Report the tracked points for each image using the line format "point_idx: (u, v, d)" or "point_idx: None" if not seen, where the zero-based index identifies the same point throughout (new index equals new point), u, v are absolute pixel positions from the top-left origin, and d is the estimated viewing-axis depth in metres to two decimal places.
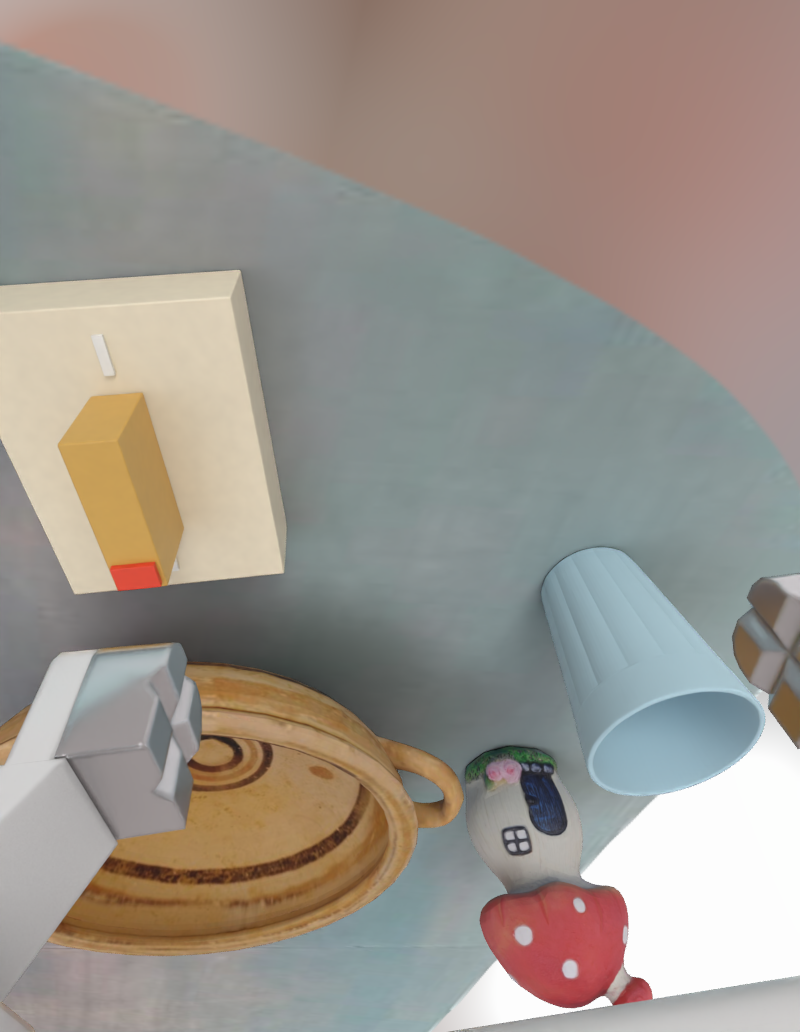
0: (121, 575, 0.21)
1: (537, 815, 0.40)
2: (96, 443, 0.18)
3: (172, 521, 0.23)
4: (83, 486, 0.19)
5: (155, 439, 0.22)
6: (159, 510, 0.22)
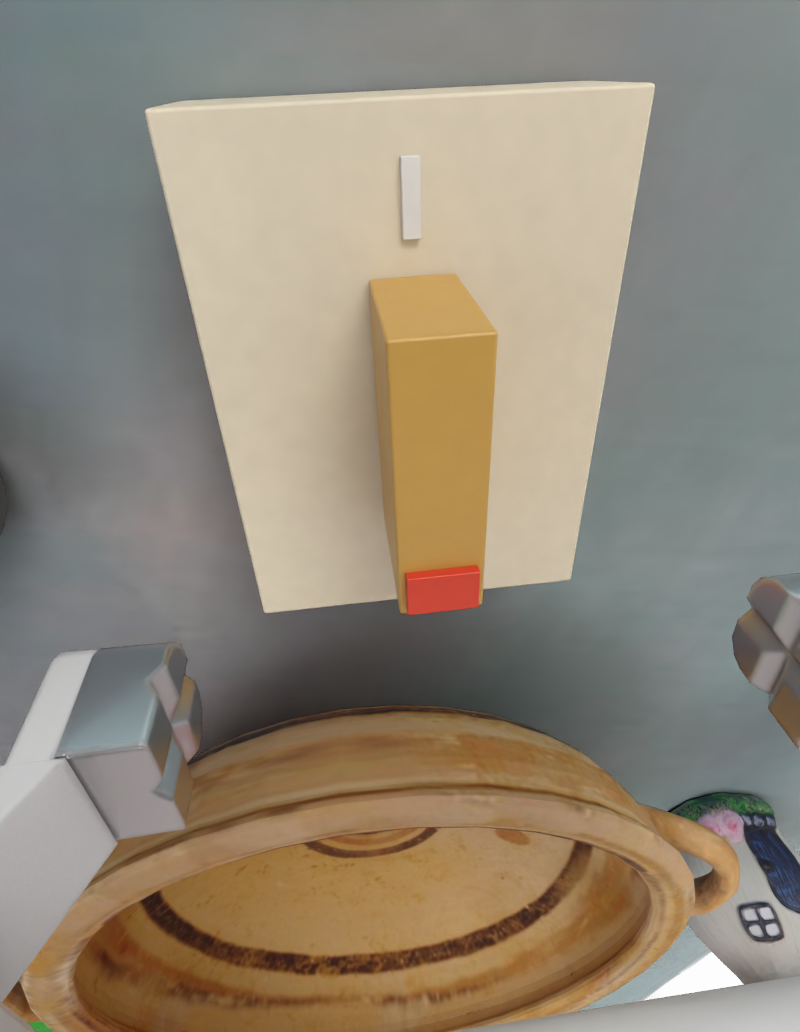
0: (423, 589, 0.12)
1: (779, 886, 0.31)
2: (459, 339, 0.10)
3: None
4: (407, 427, 0.10)
5: None
6: None
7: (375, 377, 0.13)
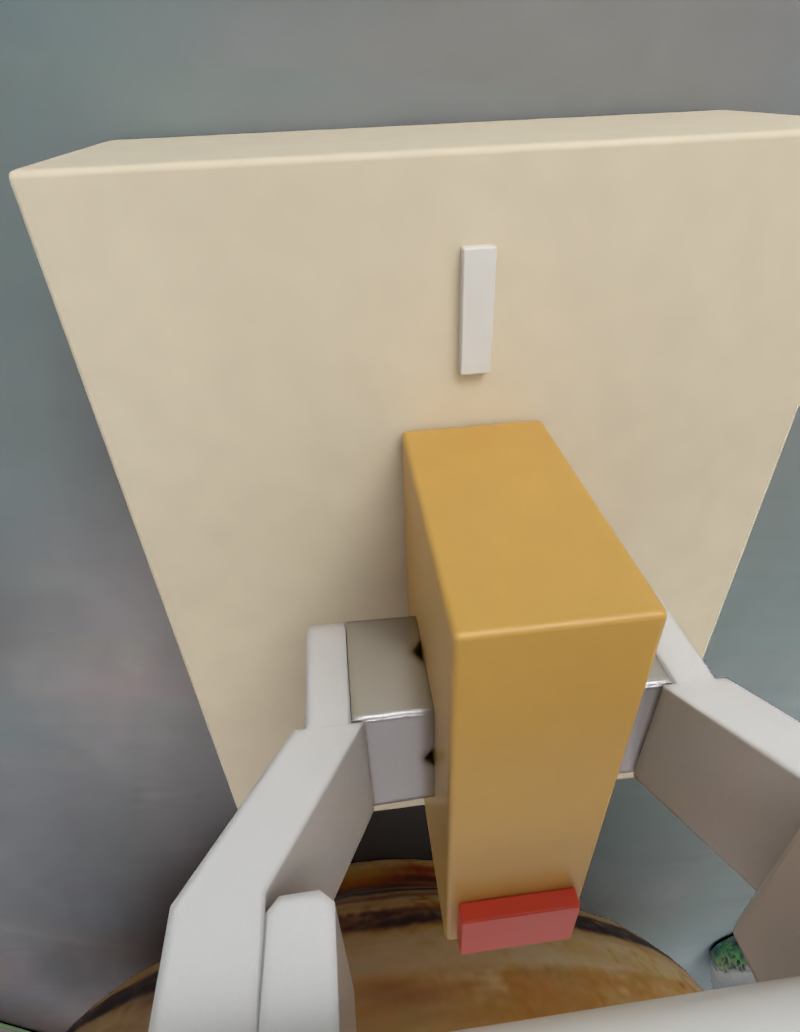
0: (486, 929, 0.08)
1: None
2: (593, 628, 0.05)
3: None
4: (481, 748, 0.06)
5: None
6: None
7: (407, 565, 0.09)
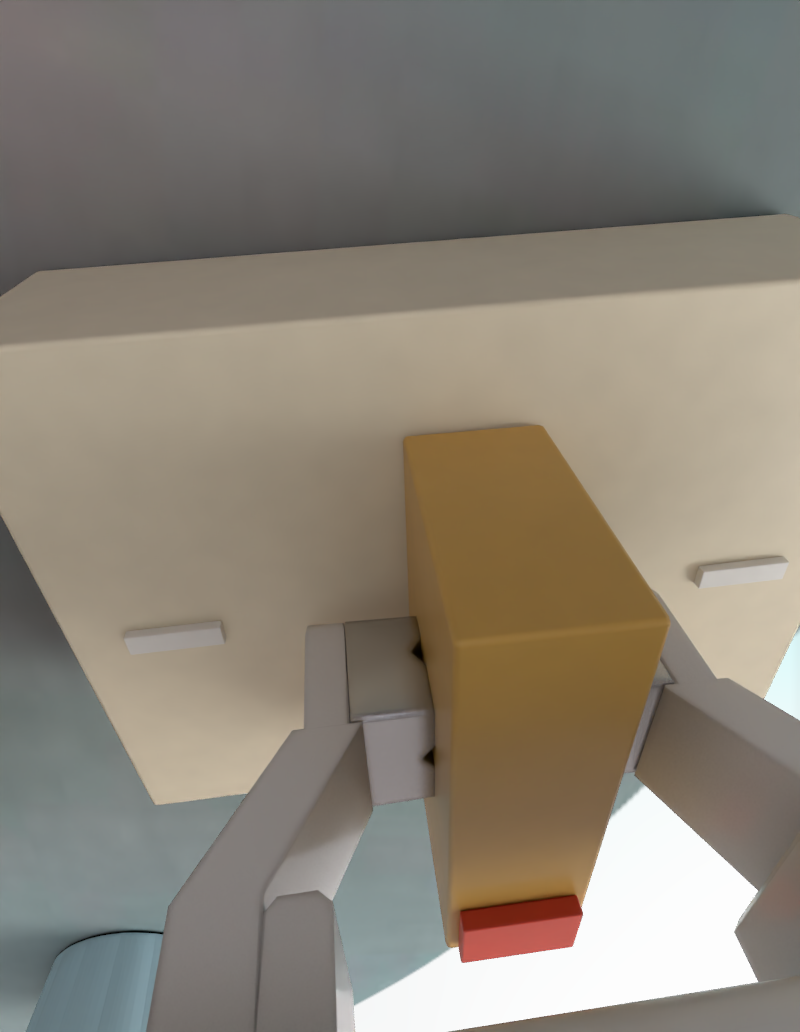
0: (488, 937, 0.08)
1: None
2: (597, 635, 0.05)
3: None
4: (482, 755, 0.06)
5: None
6: None
7: (409, 570, 0.09)
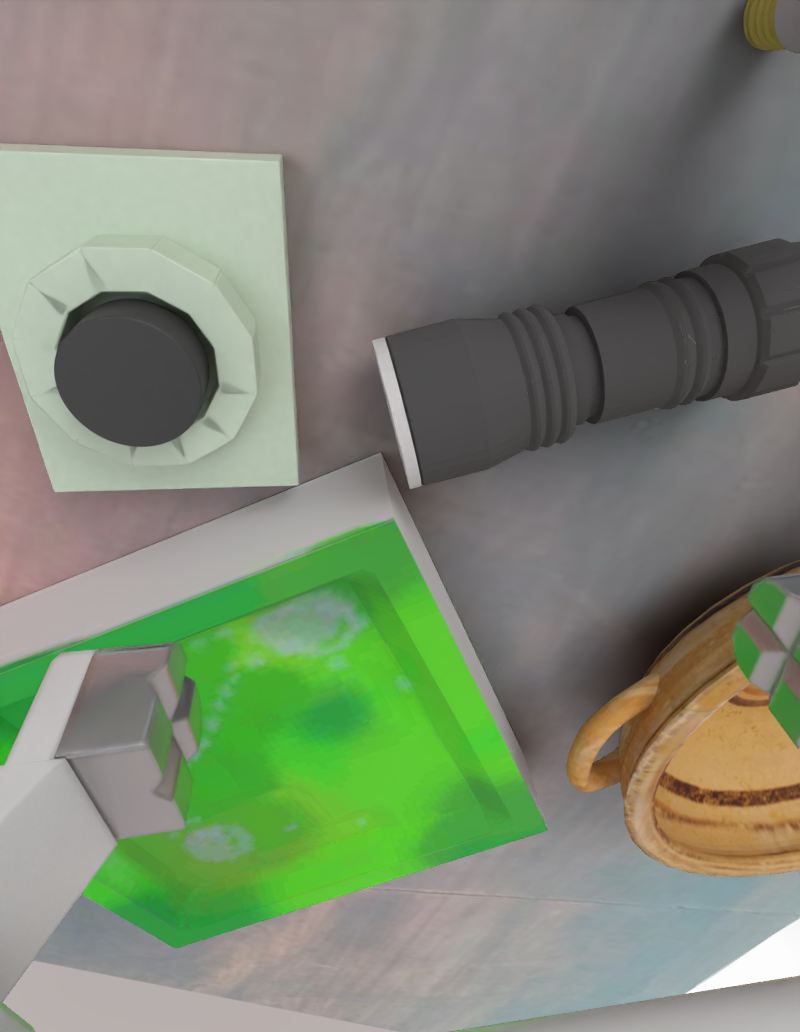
0: None
1: None
2: None
3: None
4: None
5: None
6: None
7: None
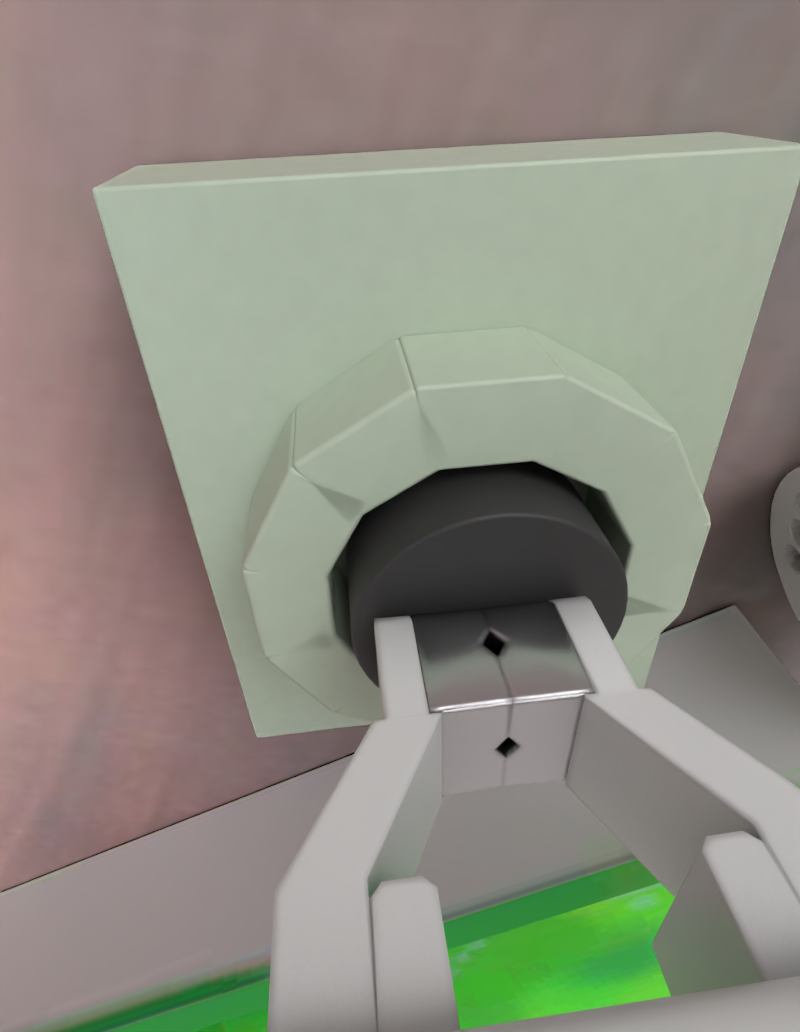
0: None
1: None
2: None
3: None
4: None
5: None
6: None
7: None
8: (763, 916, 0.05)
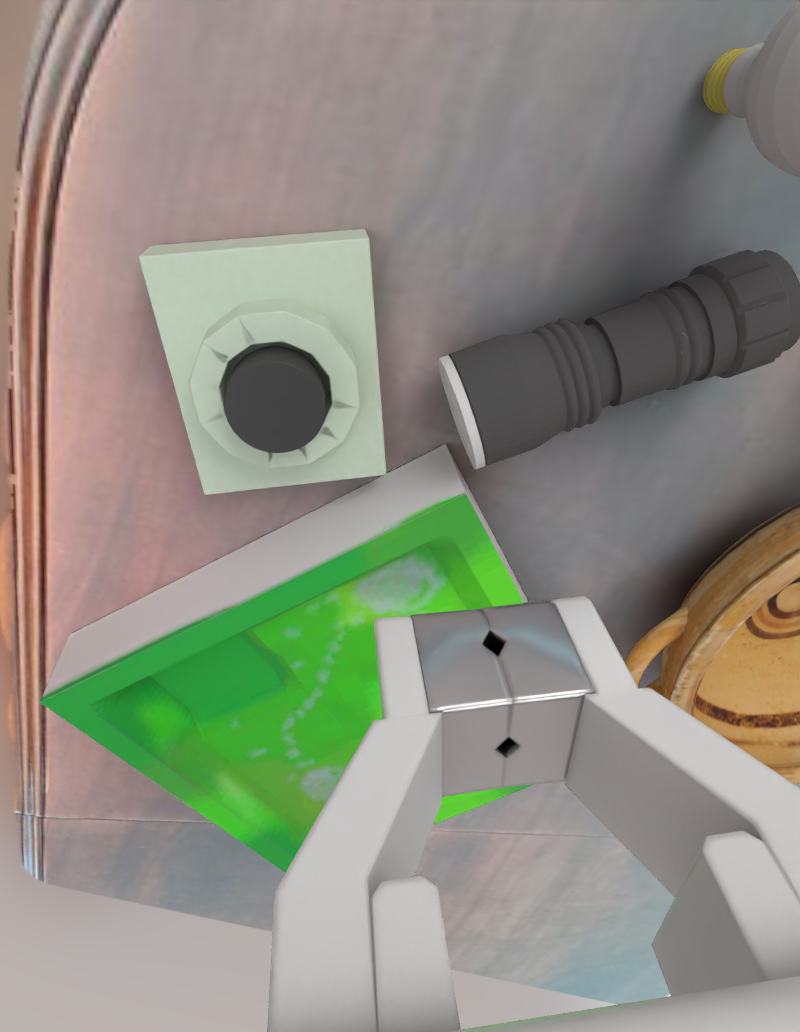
0: None
1: None
2: None
3: None
4: None
5: None
6: None
7: None
8: (763, 916, 0.05)
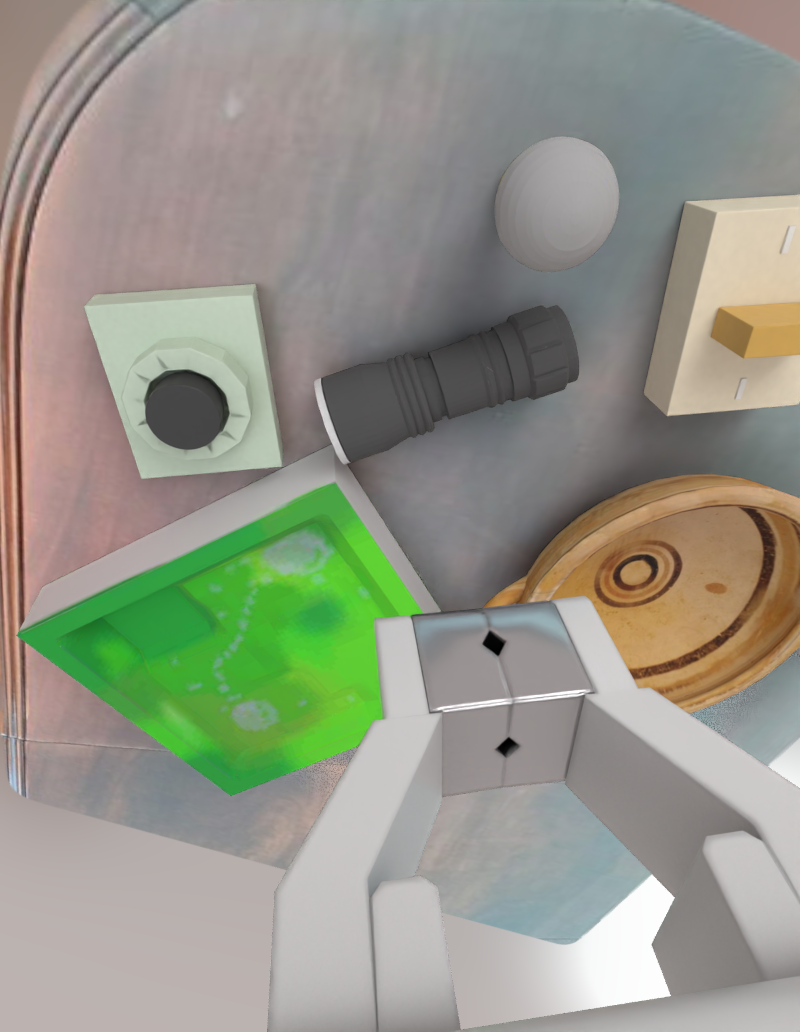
0: None
1: None
2: (751, 338, 0.33)
3: None
4: (771, 352, 0.34)
5: (749, 306, 0.35)
6: None
7: None
8: (763, 917, 0.05)
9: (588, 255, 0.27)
